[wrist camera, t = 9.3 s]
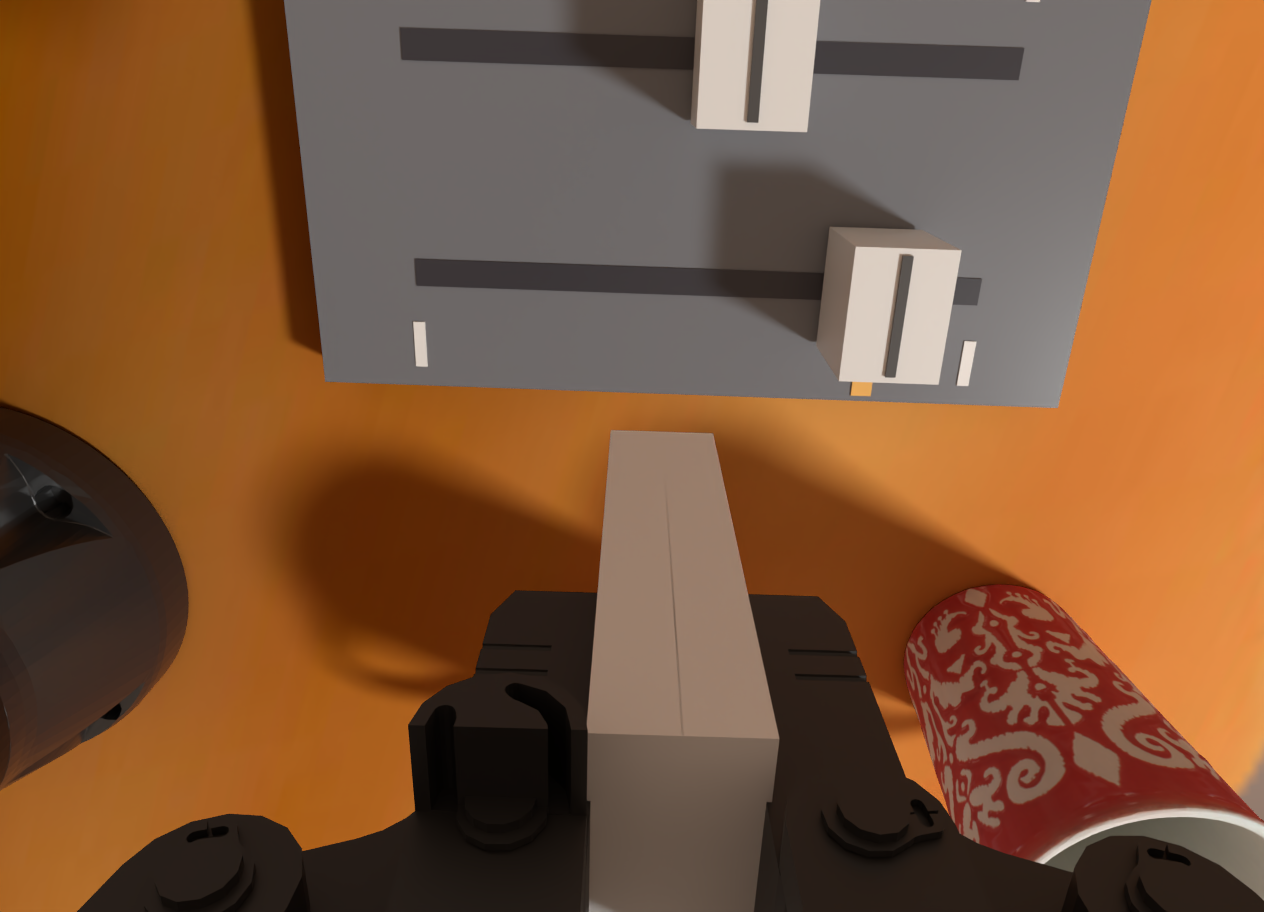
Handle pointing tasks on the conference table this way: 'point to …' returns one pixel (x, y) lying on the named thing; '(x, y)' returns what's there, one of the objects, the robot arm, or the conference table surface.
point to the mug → (1059, 740)
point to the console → (695, 191)
